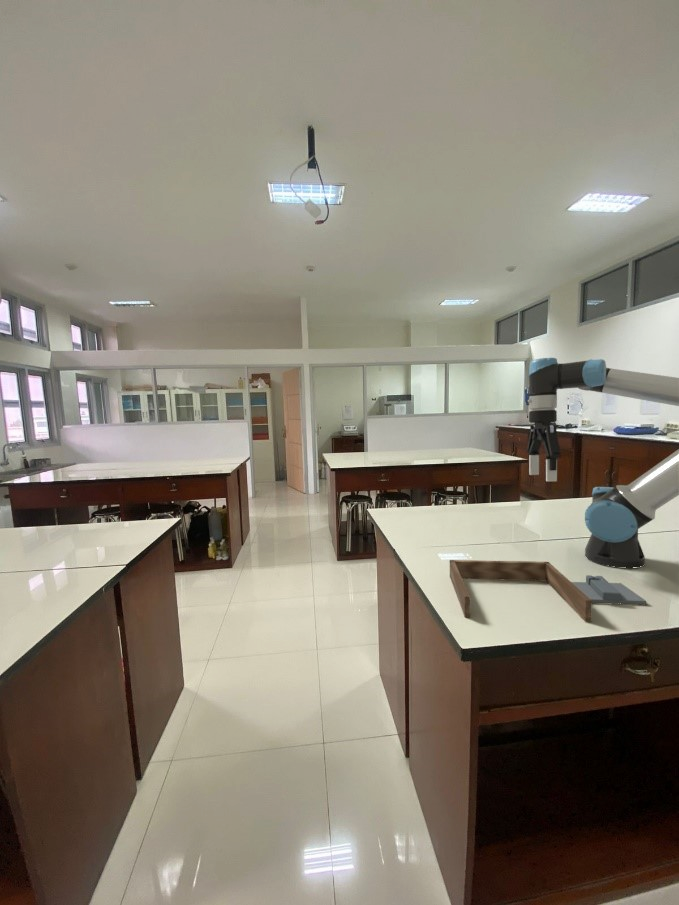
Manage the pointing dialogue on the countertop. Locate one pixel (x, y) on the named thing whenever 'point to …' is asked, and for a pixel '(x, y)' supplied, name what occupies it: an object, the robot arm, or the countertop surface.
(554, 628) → the countertop surface
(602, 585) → the bracket
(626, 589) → the slate mat
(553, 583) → the u-shaped wooden frame
